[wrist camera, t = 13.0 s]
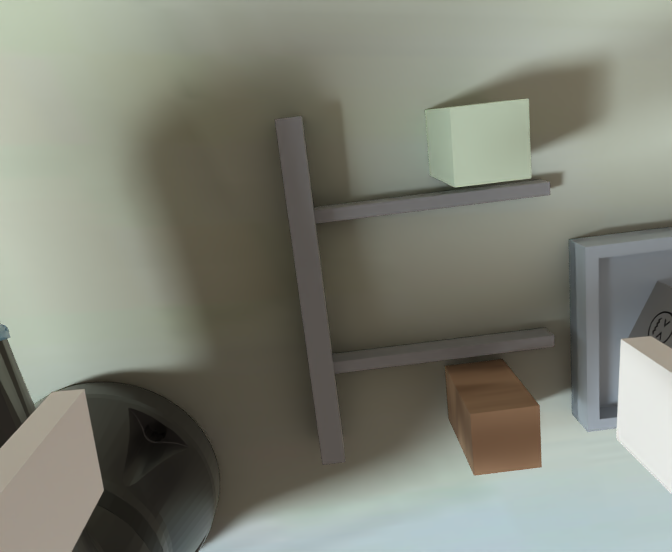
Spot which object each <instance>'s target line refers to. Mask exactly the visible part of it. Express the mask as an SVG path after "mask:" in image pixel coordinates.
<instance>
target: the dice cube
mask: <svg viewBox="0 0 672 552" xmlns="http://www.w3.org/2000/svg"><path fill="white" fill-rule="evenodd" d="M647 336H652V337H653V338H655V339H657V340H658V341H660V342H662V343H663V344H665V345H667V346H668V347H670V348H671V349H672V286H669V285H666V284H664V283H661V282H659V281H657V282H656V284H655V286H654V288H653V290H652V292H651V294H650V296H649V298H648V300H647V302H646V304H645V306H644V308H643V310H642V311H641V313H640V315H639V317H638V319H637V321H636V323H635V325H634V327H633V329H632V331H631V333H630V335H629V337H628V338H636V337H647Z"/></svg>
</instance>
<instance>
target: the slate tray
mask: <svg viewBox="0 0 672 552" xmlns="http://www.w3.org/2000/svg"><path fill="white" fill-rule="evenodd" d="M569 277H570V329H571V380H572V414H573V416H574V417H575V418H576V419H577V420H578V421H579V422H580V424H581V425H582V426H583V427H584V428H585V429H586V430H587V432H590V431H598V430H606V429H614V428H617V411H618V389H619V368H620V346H621V339H625V338H628V337H629V335H630V333H631V331H632V329H633V327H634V325H635V323H636V321H637V319H638V317H639V315H640V313H641V311H642V310H643V308H644V306H645V304H646V302H647V300H648V298H649V296H650V294H651V292H652V290H653V288H654V286H655V284H656V282H657V281H659V282H661V283H664V284H666V285H669V286H672V227H666V228H657V229H649V230H641V231H633V232H625V233H617V234H608V235H600V236H592V237H584V238H576V239H569Z"/></svg>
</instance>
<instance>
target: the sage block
mask: <svg viewBox="0 0 672 552" xmlns="http://www.w3.org/2000/svg"><path fill="white" fill-rule="evenodd" d="M425 118H426V131H427V144H428V157H429V170H430V176H432V177H434V178H436V179H438V180H440V181H442V182H444V183H447V184H449V185H451V186H453V187H464V186H472V185H480V184H489V183H497V182H505V181H513V180H522V179H530V178H531V149H530V119H529V98H527V99H517V100H506V101H496V102H486V103H478V104H470V105H461V106H453V107H445V108H436V109H428V110H425Z"/></svg>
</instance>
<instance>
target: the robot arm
mask: <svg viewBox="0 0 672 552" xmlns="http://www.w3.org/2000/svg"><path fill="white" fill-rule="evenodd" d="M7 338H10V335H9V330H8V328H7V327H6V326H4V325H2V324H1V323H0V552H198V551H199V550H200V548H201V547H202V545H203V543H204V542H205V540H206V538H207V536H208V533H209V531H210V529H211V526H212V522H213V519H214V515H215V511H216V507H217V503H218V498H219V491H220V477H219V469H218V464H217V460H216V457H215V454H214V452H213V449H212V447H211V445H210V443H209V441H208V439H207V438H206V436H205V435H204V433H203V432H202V430H201V429H200V428H199V426H198V425H197V424H196V423H195V422H194V421H193V420H192V419H191V417H190V416H188V415H187V414H186V413H185V412H184V411H183V410H182V409H180V408H179V407H178V406H176V405H175V404H173V403H172V402H170V401H169V400H167V399H165V398H163V397H162V396H160V395H158V394H155V393H153V392H151V391H148V390H146V389H142V388H139V387H136V386H132V385H127V384H122V383H113V382H93V383H84V384H79V385H74V386H70V387H67V388H64V389H61V390H59V391H56V392H51V393H50V395H48V396H46V397H44V398H43V399H41V400H40V401H38V402H37V403H35V404H34V403H33V401H32V399H31V396H30V394H29V391H28V389H27V387H26V384H25V382H24V379H23V377H22V375H21V372H20V370H19V368H18V365H17V363H16V360H15V358H14V355H13V353H12V350H11V348H10V345H9V343H8V340H7ZM616 439H617V440H618V441H619V442H620V443H621V444H622V445H623V446H624V447H625V448H626V449H627V450H628V451H629V452H630V453H631V454H632V455H633V456H634V457H635V458H636V459H637V460H638V461H639V462H640V463H641V464H642V465H643V466H644V467H645V468H646V469H647V470H648V471H649V472H650V473H651V474H652V475H653V476H654V477H655V478H656V479H657V480H658V481H659V482H660V483H661V484H662V485H663V486H664V487H665V488H666V489H667V490H668V491H669V492H670V493H671V494H672V349H671V348H670V347H668V346H667V345H665V344H663V343H662V342H660V341H658V340H657V339H655V338H653V337H652V336H647V337H636V338H625V339H621V346H620V368H619V389H618V411H617V433H616Z"/></svg>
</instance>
